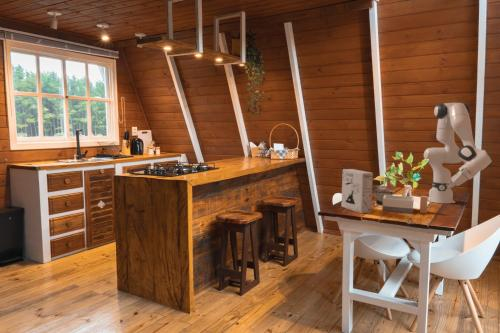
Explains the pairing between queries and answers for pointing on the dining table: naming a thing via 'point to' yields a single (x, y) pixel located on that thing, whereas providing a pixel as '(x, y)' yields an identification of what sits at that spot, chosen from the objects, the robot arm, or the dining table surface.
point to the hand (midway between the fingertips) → (447, 187)
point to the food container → (382, 195)
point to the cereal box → (357, 190)
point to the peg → (423, 204)
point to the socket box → (398, 203)
